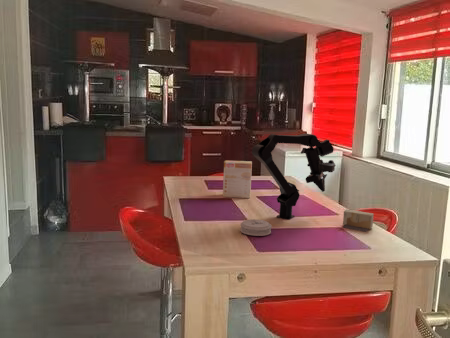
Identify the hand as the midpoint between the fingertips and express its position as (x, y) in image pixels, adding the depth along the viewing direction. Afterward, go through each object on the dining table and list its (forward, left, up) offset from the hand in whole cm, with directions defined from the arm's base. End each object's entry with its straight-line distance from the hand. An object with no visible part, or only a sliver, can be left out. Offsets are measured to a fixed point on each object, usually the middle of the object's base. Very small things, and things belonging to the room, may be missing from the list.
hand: (323, 191), depth 212 cm
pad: (-6, -19, -12) cm, 23 cm away
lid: (-42, +13, -13) cm, 46 cm away
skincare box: (-6, -12, -9) cm, 16 cm away
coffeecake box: (+10, +52, -13) cm, 55 cm away
